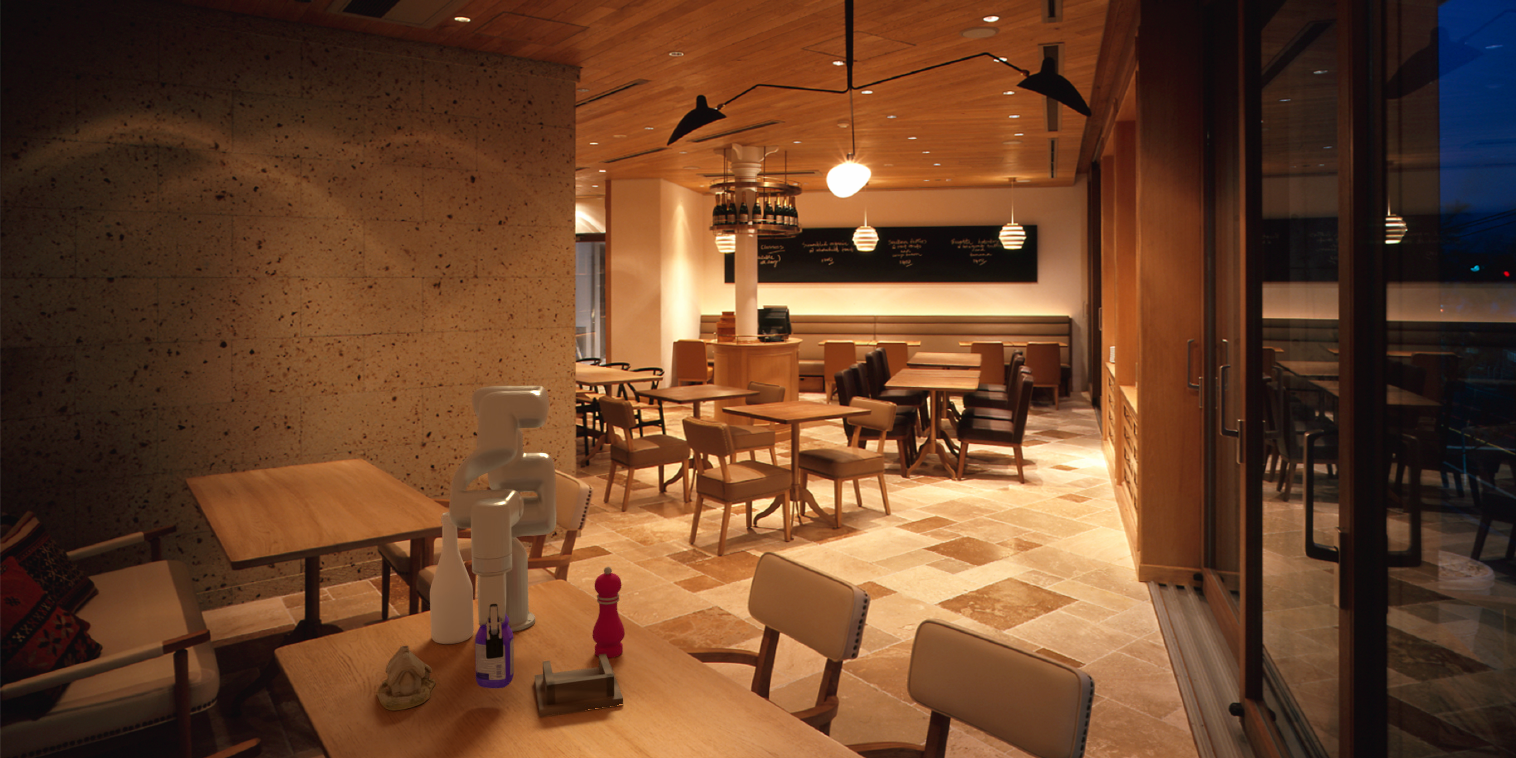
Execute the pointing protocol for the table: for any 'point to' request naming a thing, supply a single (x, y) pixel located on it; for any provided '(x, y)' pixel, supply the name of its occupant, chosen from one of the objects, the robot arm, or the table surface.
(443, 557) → the wine bottle
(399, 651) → the ceramic model
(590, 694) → the bottle rest
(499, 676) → the bottle
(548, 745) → the table surface
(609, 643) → the pepper mill
